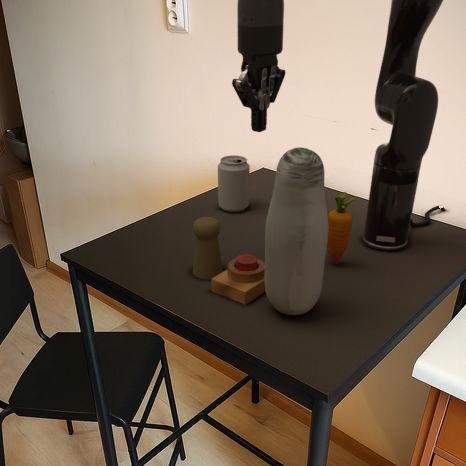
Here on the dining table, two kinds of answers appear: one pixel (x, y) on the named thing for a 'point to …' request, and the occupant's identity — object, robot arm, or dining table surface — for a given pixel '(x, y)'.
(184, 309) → the dining table surface
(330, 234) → the carrot
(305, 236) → the grey tall rounded cylinder
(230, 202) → the can
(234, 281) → the button box
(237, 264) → the red button
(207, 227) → the cork
